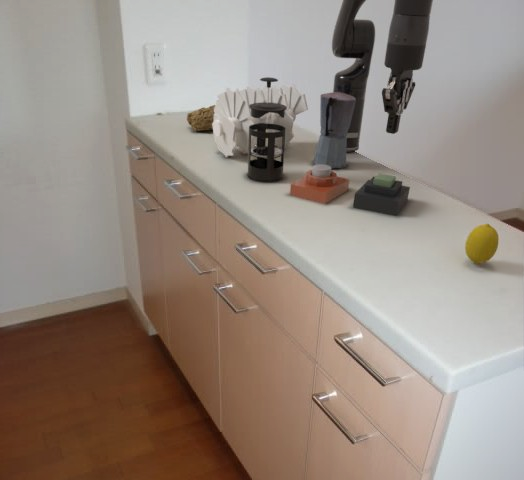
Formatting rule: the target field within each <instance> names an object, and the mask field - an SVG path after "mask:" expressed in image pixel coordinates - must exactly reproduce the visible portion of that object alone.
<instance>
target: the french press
mask: <svg viewBox="0 0 524 480" xmlns="http://www.w3.org/2000/svg"><path fill="white" fill-rule="evenodd" d="M259 81H261V82H266V87H267V88H268V101H267V103H254V104H250V105H249V108H250V109H251V116H252V117H254V118H260V117H262V116H263V115H265V114H267V123H257V124H253V125H250V126H249V145H248V153H247V174H246V178H247V179H248V180H250V181H252V182H255V183H256V182H257V183H264V184H268V183H269V184H270V183H272V184H273V183H278V182H281V181H282V180H284V178H285V177H284V160H285V148H284V146H285V127H283V126H281V125H277V124H268V113H269V112H271V113H278V114H279V115H280V116H281V117H282V118H284V113H285V110H286V109H287V107H286V106H285V105H282V104H278V103H269V88H271V89H272V87H271V86H272V83H274V82H275V83H276V82H279V79H278V78H275V77H268V76H267V77H262V78H260V79H259ZM268 129H273V130H278V131H280V132H268ZM255 130H257V131H255ZM251 135H252V136H255V137H257V146H256V147H253V148H252V149H251ZM279 137H282V150H281V149H280V148H279V147H276V144H275V138H279ZM267 139H268V146H267ZM265 142H266V146H265ZM251 156H253V157H255V159H251ZM276 158H277V159H278V158H280V160H277V159H276Z"/></svg>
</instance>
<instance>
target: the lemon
mask: <svg viewBox="0 0 524 480" xmlns="http://www.w3.org/2000/svg"><path fill="white" fill-rule="evenodd" d="M498 247H499V234H498V232H497V230H496V229H495V228H494V227H493V226H492V225H490V223H485V224H480V225H478V226H476V227H474V228H472V230H471V231H470V233H469V234H468V236H467V239H466V241H465V245H464V248H465V249H464V250H465V254H466V256H467V258H468V259H469V260H470V261H471V262H473V264H474V265H479V264H482V263H483V264H484V263H486V262H488V261H490V260H491V259H492V258H493V257H494V256H495V254H496V253H497V250H498Z"/></svg>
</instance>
